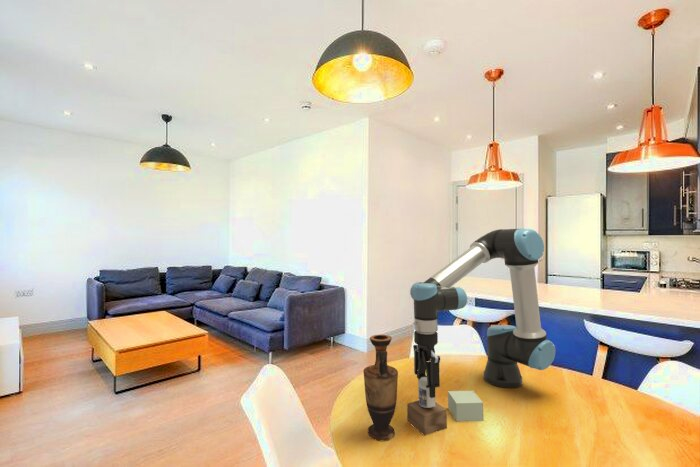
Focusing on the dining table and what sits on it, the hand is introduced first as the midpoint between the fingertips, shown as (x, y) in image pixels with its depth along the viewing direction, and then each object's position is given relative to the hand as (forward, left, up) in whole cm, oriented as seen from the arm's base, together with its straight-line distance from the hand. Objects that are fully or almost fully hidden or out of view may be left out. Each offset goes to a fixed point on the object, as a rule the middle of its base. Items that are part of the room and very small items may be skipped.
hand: (426, 402), depth 112 cm
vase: (+16, 0, -8) cm, 18 cm away
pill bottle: (0, 0, -1) cm, 1 cm away
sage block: (-16, -2, -7) cm, 18 cm away
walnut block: (0, 0, -7) cm, 7 cm away
